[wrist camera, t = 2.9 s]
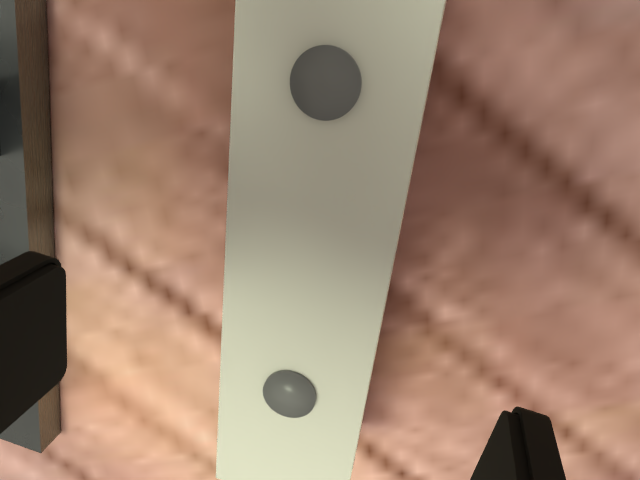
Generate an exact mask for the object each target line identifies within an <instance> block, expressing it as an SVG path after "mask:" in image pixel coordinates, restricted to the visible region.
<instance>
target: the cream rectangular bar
mask: <svg viewBox="0 0 640 480" xmlns="http://www.w3.org/2000/svg"><path fill="white" fill-rule="evenodd" d="M445 5H446V0H236V3H235V27H234V51H233V75H232V99H231V123H230V147H229V172H228V196H227V220H226V244H225V268H224V292H223V317H222V341H221V365H220V389H219V413H218V437H217V461H216V478H218V479H221V480H350V479H351V474H352V469H353V465H354V460H355V455H356V450H357V445H358V440H359V436H360V431H361V426H362V421H363V416H364V411H365V406H366V401H367V396H368V391H369V386H370V381H371V376H372V371H373V366H374V361H375V356H376V351H377V346H378V341H379V336H380V331H381V326H382V321H383V316H384V311H385V306H386V301H387V296H388V291H389V286H390V281H391V276H392V271H393V266H394V261H395V256H396V251H397V246H398V241H399V236H400V231H401V226H402V221H403V216H404V211H405V206H406V201H407V196H408V191H409V186H410V181H411V176H412V171H413V166H414V161H415V155H416V150H417V145H418V140H419V135H420V130H421V125H422V120H423V115H424V110H425V105H426V100H427V95H428V90H429V85H430V80H431V75H432V70H433V65H434V60H435V55H436V50H437V45H438V40H439V35H440V30H441V25H442V20H443V15H444V10H445Z"/></svg>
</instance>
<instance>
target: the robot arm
mask: <svg viewBox="0 0 640 480" xmlns="http://www.w3.org/2000/svg"><path fill="white" fill-rule="evenodd" d="M66 368H67V336H66V273H65V270H64V269H63V268H62V267H61V263H60V262H59V260H58V259H56V258H54V257H50V256H47V255H44V254H41V253H38V252H35V251H28V252H25V253H23V254H21V255H19V256H17V257H15V258H13V259H11V260H9V261H7V262H5V263H3V264H1V265H0V434H1V433H2V432H3V431H5V430H6V429H7V428H8V427H9V426H10V425H11V424H12V423H14V422H15V421H16V420H17V419H18V418H19V417H20V416H22V415H23V414H24V413H25V412H26V411H27V410H28V409H30V408H31V407H32V406H33V405H34V404H35V403H36V402H37V401H39V400H40V399H41V398H42V397H43V396H44V395H45V394H47V393H48V392H49V391H50V390H51V389H52V388H53V387H55V386H56V385H57V384H58V383H59V382H60V381H61V379H62V378H63V376H64V374H65V372H66ZM470 480H566V478H565V474H564V470H563V466H562V462H561V459H560V455H559V451H558V447H557V443H556V439H555V435H554V431H553V428H552V424H551V421H550V418H549V417H548V416H546V415H543V414H540V413H537V412H534V411H530V410H527V409H524V408H521V407H515V408H514V409H513V411H512V413H511V412H508V411H503V412H502V413H501V415H500V417H499V419H498V421H497V423H496V425H495V428H494V430H493V432H492V434H491V436H490V438H489V440H488V443H487V445H486V447H485V449H484V451H483V453H482V455H481V458H480V460H479V462H478V464H477V466H476V468H475V470H474V473H473V475H472V477H471V479H470Z"/></svg>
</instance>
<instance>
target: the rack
mask: <svg viewBox="0 0 640 480" xmlns="http://www.w3.org/2000/svg"><path fill="white" fill-rule="evenodd" d="M28 251H35V252H38V253H41V254H44V255H47V256H50V257H54V258H55V250H54V221H53V191H52V161H51V132H50V102H49V72H48V43H47V13H46V0H0V265H1V264H3V263H5V262H7V261H9V260H11V259H13V258H15V257H17V256H19V255H21V254H23V253H25V252H28ZM60 432H61V428H60V398H59V383H58V384H57V385H56V386H55V387H53V388H52V389H51V390H50V391H49V392H48V393H47V394H45V395H44V396H43V397H42V398H41V399H40V400H39V401H37V402H36V403H35V404H34V405H33V406H32V407H31V408H30V409H28V410H27V411H26V412H25V413H24V414H23V415H22V416H20V417H19V418H18V419H17V420H16V421H15V422H14V423H12V424H11V425H10V426H9V427H8V428H7V429H6V430H5V431H3V432H2V433H1V434H0V439H3V440H6V441H9V442H11V443H14V444H17V445H20V446H22V447H25V448H28V449H31V450H34V451H36V452H39V453H42V452H43V451H44V449H45V448H46V447H47V446H48V445H49V444H50V443H51V442H52V441H53V440H54V439H55V438H56V437H57V436H58V435H59V434H60Z"/></svg>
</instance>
